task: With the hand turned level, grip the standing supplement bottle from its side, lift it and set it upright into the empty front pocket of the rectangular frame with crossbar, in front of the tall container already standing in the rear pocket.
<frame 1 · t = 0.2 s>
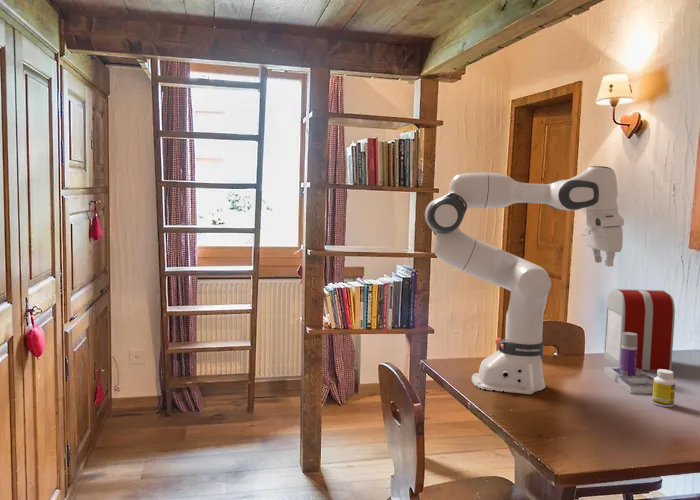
hand: (603, 264, 170), 39 cm above the table, tool pointing down, fingers open, 8 cm apart
rectangular frame with crossbar: (633, 382, 178), on the table
container: (627, 378, 183), resting in rectangular frame with crossbar
red striped box: (636, 363, 201), on the table
supplement bottle: (662, 404, 159), on the table
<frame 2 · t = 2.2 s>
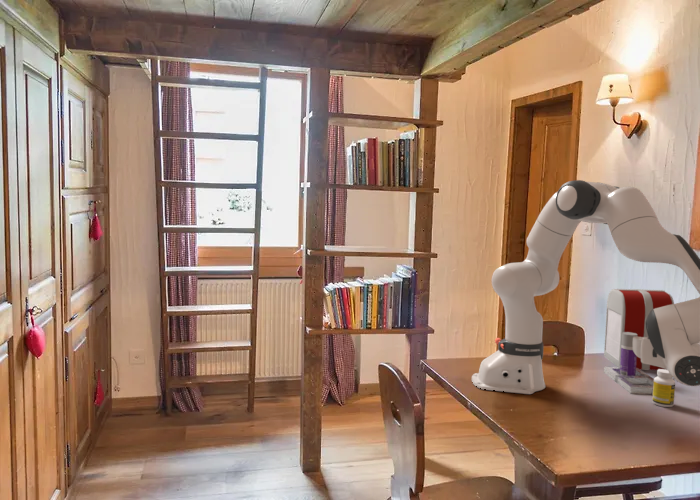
hand: (673, 342, 146), 21 cm above the table, tool horizontal, fingers open, 8 cm apart
nothing on the table moved.
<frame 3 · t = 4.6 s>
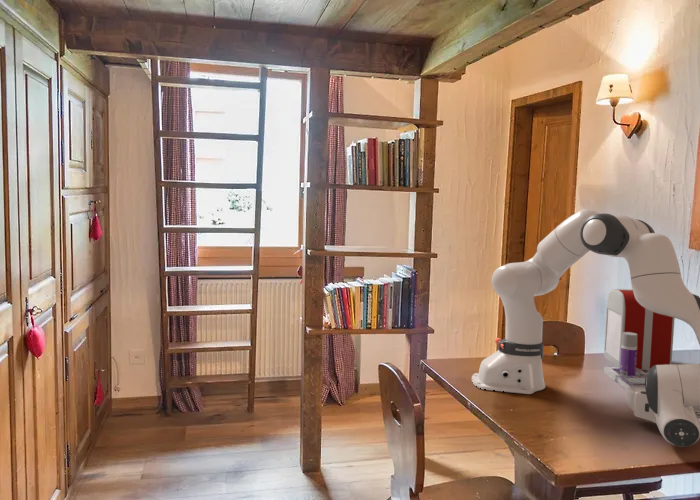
hand: (666, 393, 151), 6 cm above the table, tool horizontal, fingers open, 8 cm apart
nothing on the table moved.
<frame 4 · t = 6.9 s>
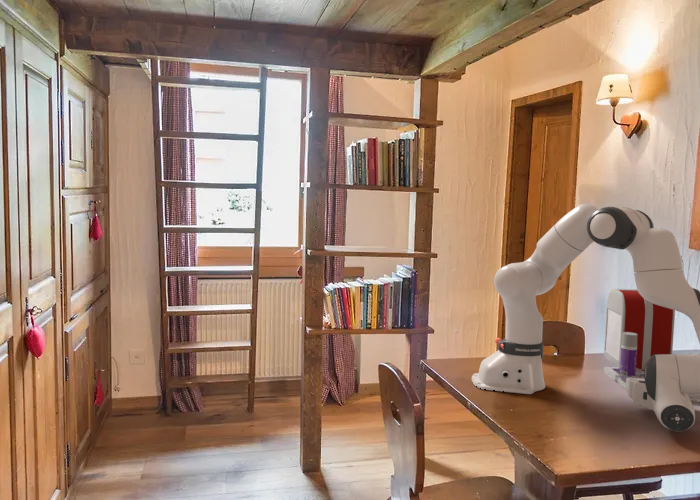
hand: (663, 382, 159), 6 cm above the table, tool horizontal, fingers closed on supplement bottle, 5 cm apart
supplement bottle: (662, 404, 159), on the table, touching gripper
everything else where it was.
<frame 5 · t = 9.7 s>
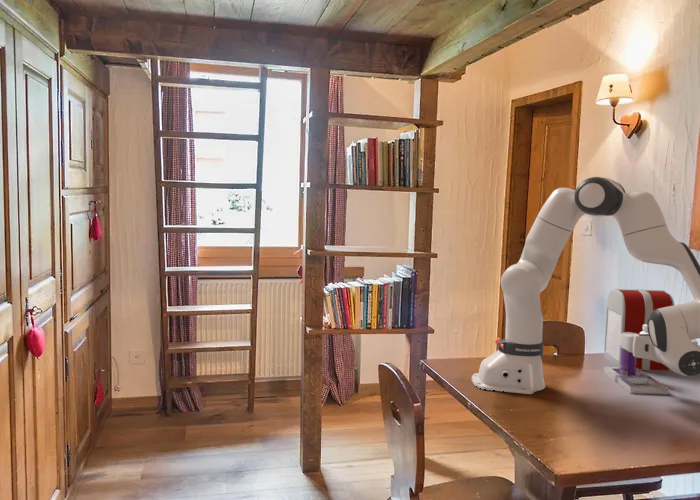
hand: (648, 336, 170), 17 cm above the table, tool horizontal, fingers closed on supplement bottle, 5 cm apart
supplement bottle: (647, 357, 169), point 11 cm above the table, touching gripper
everything else where it was.
when the fingers open (7 cm above the table, at t = 12.8 s): supplement bottle drops 1 cm, resting in rectangular frame with crossbar.
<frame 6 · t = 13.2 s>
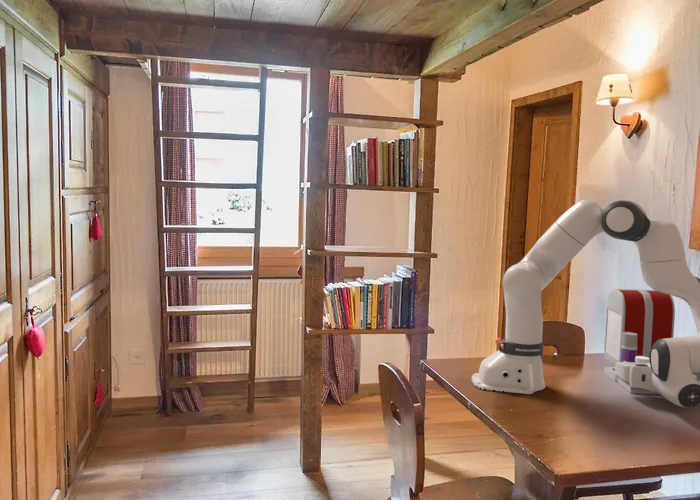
hand: (640, 363, 173), 7 cm above the table, tool horizontal, fingers open, 8 cm apart
supplement bottle: (640, 388, 173), resting in rectangular frame with crossbar
everything else where it was.
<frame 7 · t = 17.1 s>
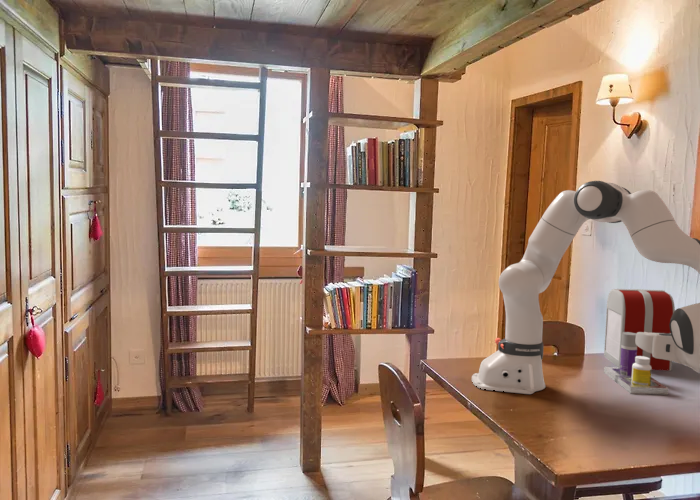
hand: (663, 335, 159), 20 cm above the table, tool horizontal, fingers open, 8 cm apart
nothing on the table moved.
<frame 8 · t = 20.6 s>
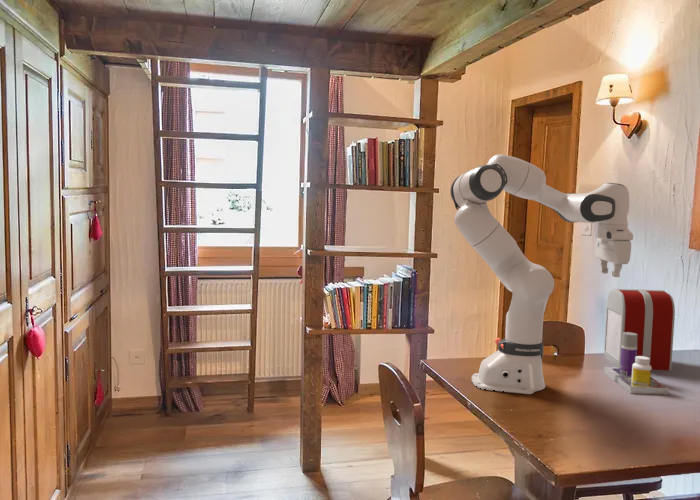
hand: (609, 275, 181), 34 cm above the table, tool pointing down, fingers open, 8 cm apart
nothing on the table moved.
at the end: supplement bottle 0.1 cm from the target spot, resting in rectangular frame with crossbar; supplement bottle tilted 0°; the gripper is holding nothing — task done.
